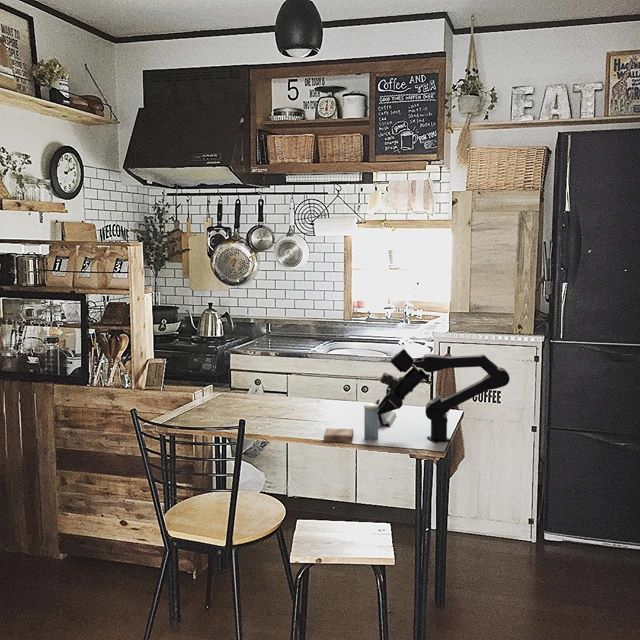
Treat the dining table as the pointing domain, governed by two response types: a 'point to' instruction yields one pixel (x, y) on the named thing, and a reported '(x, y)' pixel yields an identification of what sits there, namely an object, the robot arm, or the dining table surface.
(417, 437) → the dining table surface
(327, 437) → the stand
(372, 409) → the tin
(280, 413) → the dining table surface
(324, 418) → the dining table surface
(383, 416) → the hinge
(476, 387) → the robot arm
